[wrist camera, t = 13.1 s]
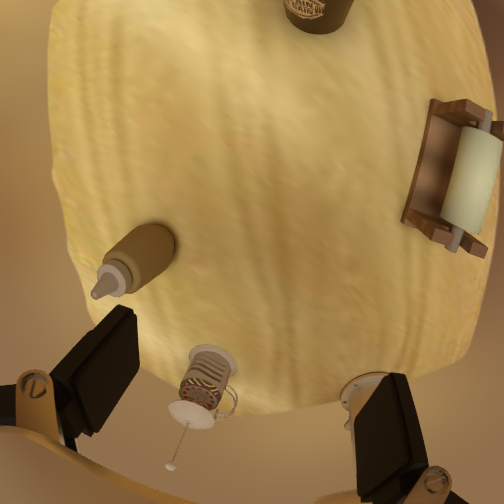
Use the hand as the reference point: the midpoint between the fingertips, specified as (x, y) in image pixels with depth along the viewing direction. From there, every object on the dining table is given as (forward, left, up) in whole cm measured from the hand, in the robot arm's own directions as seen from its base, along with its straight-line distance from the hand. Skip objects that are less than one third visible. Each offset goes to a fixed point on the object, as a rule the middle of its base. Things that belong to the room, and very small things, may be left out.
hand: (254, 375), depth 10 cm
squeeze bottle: (-12, +19, -34) cm, 40 cm away
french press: (-35, +6, -34) cm, 49 cm away
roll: (+10, -22, -25) cm, 35 cm away
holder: (+10, -21, -33) cm, 41 cm away
